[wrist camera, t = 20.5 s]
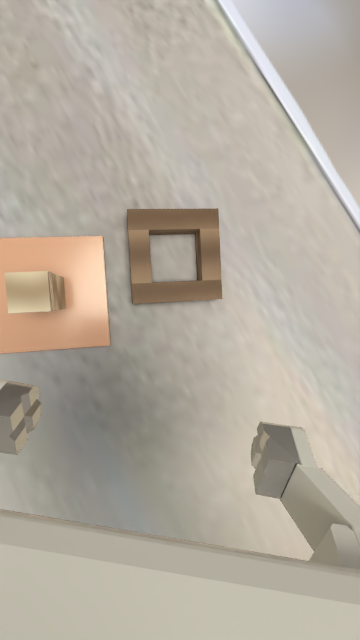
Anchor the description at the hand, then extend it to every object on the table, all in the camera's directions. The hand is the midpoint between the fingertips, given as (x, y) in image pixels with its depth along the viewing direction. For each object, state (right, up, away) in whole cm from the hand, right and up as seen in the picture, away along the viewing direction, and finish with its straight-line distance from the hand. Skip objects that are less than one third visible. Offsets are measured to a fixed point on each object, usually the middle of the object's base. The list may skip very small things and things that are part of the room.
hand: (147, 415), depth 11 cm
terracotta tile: (-15, +7, +28) cm, 33 cm away
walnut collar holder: (0, +12, +31) cm, 33 cm away
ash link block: (-15, +7, +27) cm, 32 cm away
